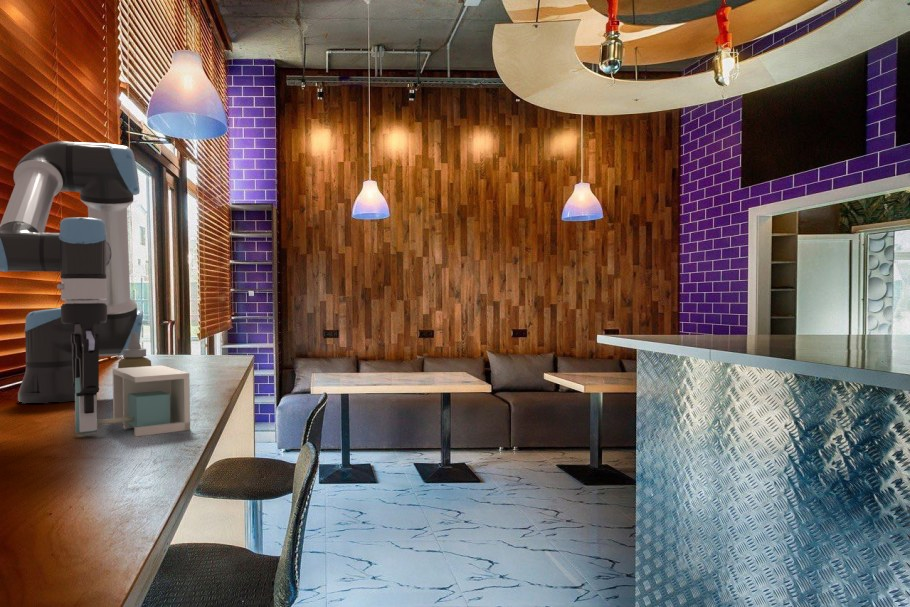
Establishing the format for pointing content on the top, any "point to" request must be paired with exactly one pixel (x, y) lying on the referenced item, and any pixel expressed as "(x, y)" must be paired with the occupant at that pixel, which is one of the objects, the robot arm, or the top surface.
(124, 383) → the cream cubby shelf
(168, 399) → the teal block
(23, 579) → the top surface
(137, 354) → the squeeze bottle
